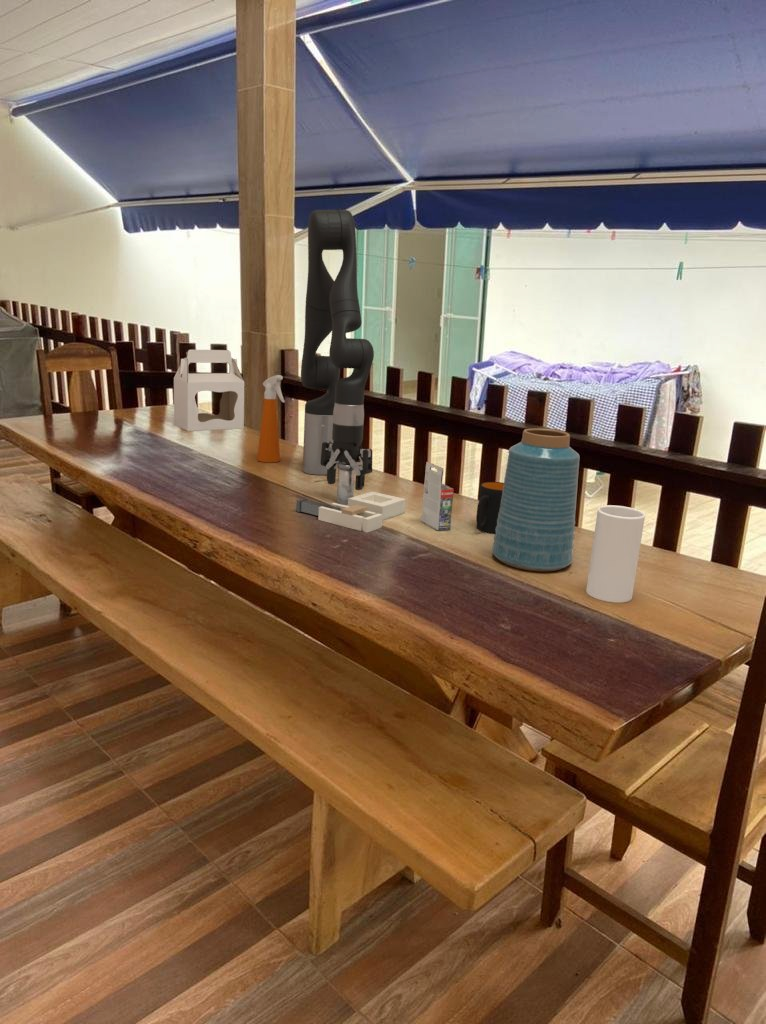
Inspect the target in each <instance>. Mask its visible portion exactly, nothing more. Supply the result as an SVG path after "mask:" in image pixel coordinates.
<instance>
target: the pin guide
mask: <svg viewBox="0 0 766 1024" xmlns="http://www.w3.org/2000/svg"><path fill="white" fill-rule="evenodd" d="M330 505H331V506H335V507H339V508H340V511H339V510H335V509H331V508H327V507H323V506H321V507H319V516H318V519H317V520H318V521H322V522H325V523H330V524H334V525H336V526H340V527H344V528H348V529H351V530H352V529H353V530H356V531H360V532H361V531H362V532H364V533H366V534H367V533H370V532H373V531H375V530H379V529H381V528H383V521H382V519H383V515H382V514H376V513H374V512H370V511H367V507H365V506H361V505H353V506H348V505H343V504H338V503H337V502H332V503H331V504H330Z"/></svg>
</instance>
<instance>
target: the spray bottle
mask: <svg viewBox="0 0 766 1024" xmlns="http://www.w3.org/2000/svg"><path fill="white" fill-rule="evenodd" d="M283 378H284V377H283V376H282V375H281V374H275V375H272V376H270V377H269V378H267V379H265V380H264V381H263V382H262V385H263V387H264V388H265V391H264V392H263V393H264V394H263V405H262V414H261V421H260V422H261V424H260V429H259V430H260V431H259V439H258V447H257V456H256V460H257V461H258V462H260V463H267V464H268V463H269V464H272V463H279V462H280V461H281V454H280V450H281V449H280V437H279V436H280V435H279V422H278V420H279V419H278V406H277V396H278V398H279V400H280V401H281V402H282V403H286V400H285V399H284V396H283V392H282V390H281V389H282V388H281V383H282V381H283Z"/></svg>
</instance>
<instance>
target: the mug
mask: <svg viewBox="0 0 766 1024" xmlns="http://www.w3.org/2000/svg"><path fill="white" fill-rule="evenodd" d="M503 485H504V482H501V481H485V482H482V483H481V484H480V486H479V487H480V488H479V497H478V503H477V508H476V516H475V517H476V520H475V521H476V527H475V528H476V529H477V530H478V531H479V532H482V533H486V534H489V535H495V533H496V530H495V529H496V525H497V518H498V512H499V508H500V503H501V496H502V490H503Z"/></svg>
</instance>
